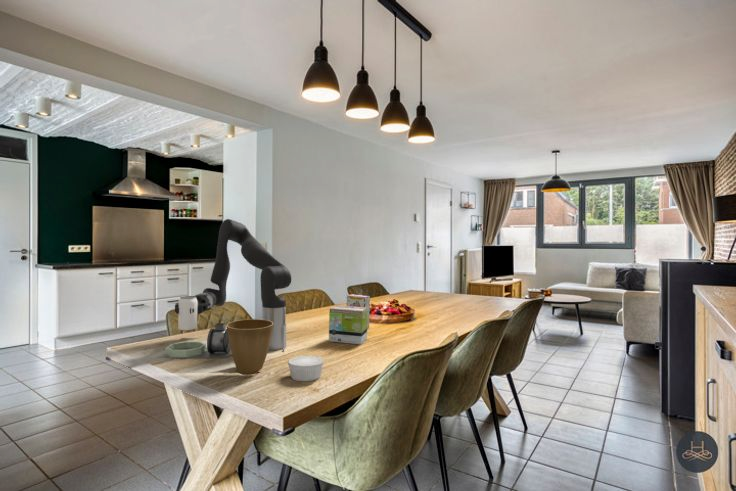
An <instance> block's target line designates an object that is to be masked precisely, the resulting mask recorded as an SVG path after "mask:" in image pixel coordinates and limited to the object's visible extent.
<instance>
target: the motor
mask: <svg viewBox="0 0 736 491" xmlns="http://www.w3.org/2000/svg"><path fill="white" fill-rule="evenodd" d="M207 333H208V334H207V338H206V347H207V350H208V352H209V353H213V352H225V353H229V352H230V351H231V349H230V344H229V339H228V333H227V323H225V322H223V323H221V322H220V323H219V322H218V323H216V324H215V325H214V327H212V328H210V329H209V331H208V332H207Z"/></svg>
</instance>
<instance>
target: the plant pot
mask: <svg viewBox="0 0 736 491" xmlns="http://www.w3.org/2000/svg"><path fill="white" fill-rule="evenodd" d="M226 329H227V333H228V339H229V344H230V349H231V356H232V359H233V362H234V365H235V367H236V370H237V372H238V374H239V375H244V376H246V375H247V376H248V375H249V376H251V375H257V374H258V373H260V371H261V370H262V369H263V367H264V365H265V362H266V358H267V355H268V352H269V350H268V349H269V345H270V340H271V335H272V329H273V322H271V321H268V320H262V318H259V319H258V318H250V319H249V318H248V319H240V320H239V319H238V320H233V321H230V322H228V323H226Z"/></svg>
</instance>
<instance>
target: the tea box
mask: <svg viewBox="0 0 736 491" xmlns="http://www.w3.org/2000/svg"><path fill="white" fill-rule="evenodd" d="M367 315H368V308H367V307H353V306H347V305H338V304H337V305H335V306H333V307H331V308H329V321H328V322H329V323H328V342H330V343H331V342H332V343H333V342H334V343H343V344H353V345H358V346H359V345H360V346H361V345H363V343H365V342H366V340H367V338H368V329H367Z"/></svg>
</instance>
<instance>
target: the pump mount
mask: <svg viewBox="0 0 736 491" xmlns="http://www.w3.org/2000/svg"><path fill="white" fill-rule="evenodd" d="M230 355H232V353H231V351H230V352H229V353H225V352H213V353H209V352H208V350H207V343H205V342H203V341H198V340H197V341H189V340H188V341H187V340H186V341H181V342H175V343H171V344H169V345H168V346H166V347H165V353H164V354H162V355H161V356H159V357H158V359H227V358H228V357H229V356H230Z"/></svg>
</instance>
